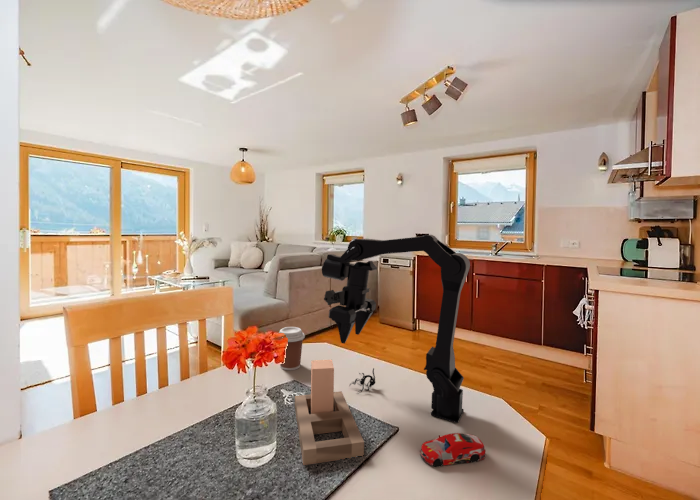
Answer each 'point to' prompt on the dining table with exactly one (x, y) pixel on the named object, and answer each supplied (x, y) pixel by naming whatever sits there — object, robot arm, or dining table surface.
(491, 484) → the dining table surface
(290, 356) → the coffee cup
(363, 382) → the creature
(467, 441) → the race car
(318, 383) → the block
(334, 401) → the puzzle board
